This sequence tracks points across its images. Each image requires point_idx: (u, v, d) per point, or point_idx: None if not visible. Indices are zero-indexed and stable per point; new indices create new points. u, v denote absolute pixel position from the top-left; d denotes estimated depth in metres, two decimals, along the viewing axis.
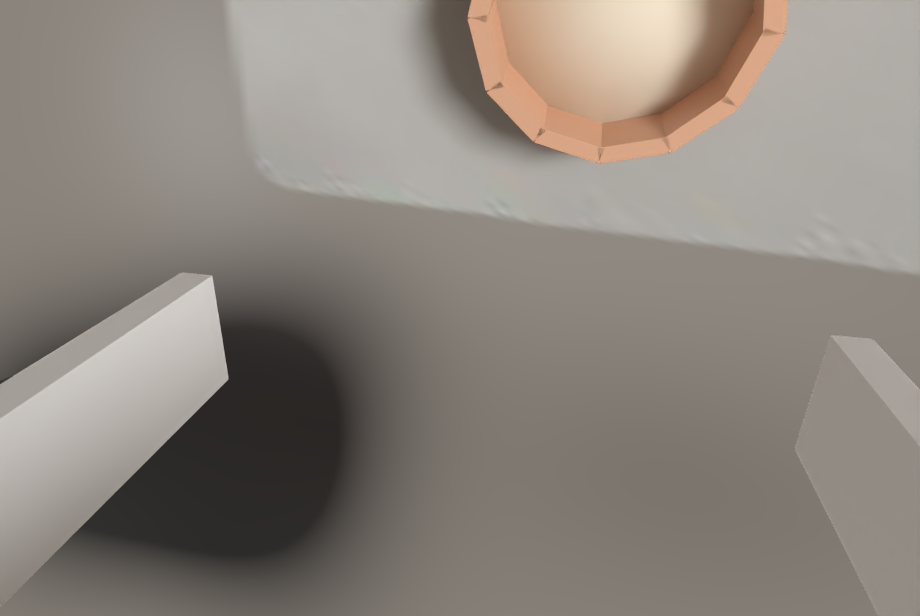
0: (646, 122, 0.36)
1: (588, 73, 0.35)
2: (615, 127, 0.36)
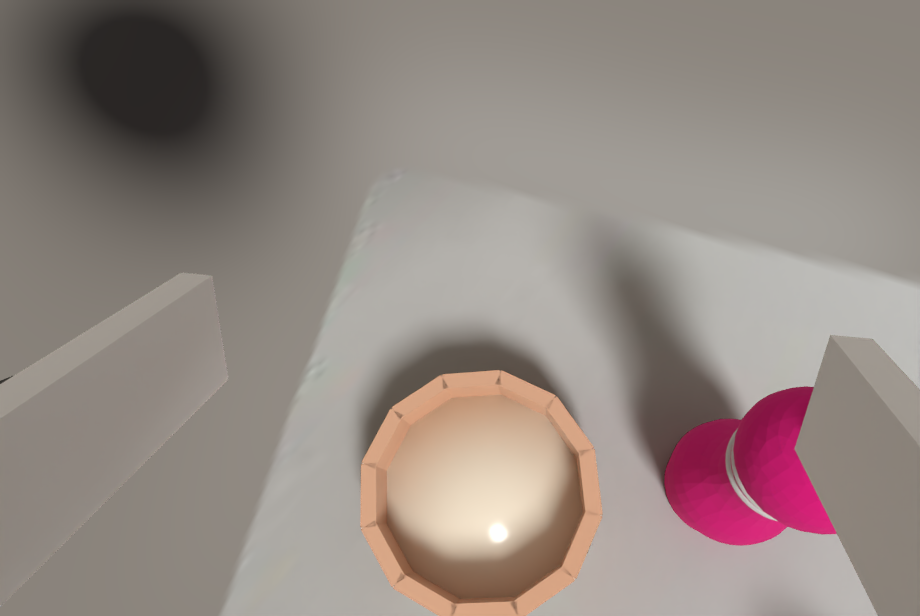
0: (384, 509, 0.41)
1: (432, 462, 0.42)
2: (384, 481, 0.41)
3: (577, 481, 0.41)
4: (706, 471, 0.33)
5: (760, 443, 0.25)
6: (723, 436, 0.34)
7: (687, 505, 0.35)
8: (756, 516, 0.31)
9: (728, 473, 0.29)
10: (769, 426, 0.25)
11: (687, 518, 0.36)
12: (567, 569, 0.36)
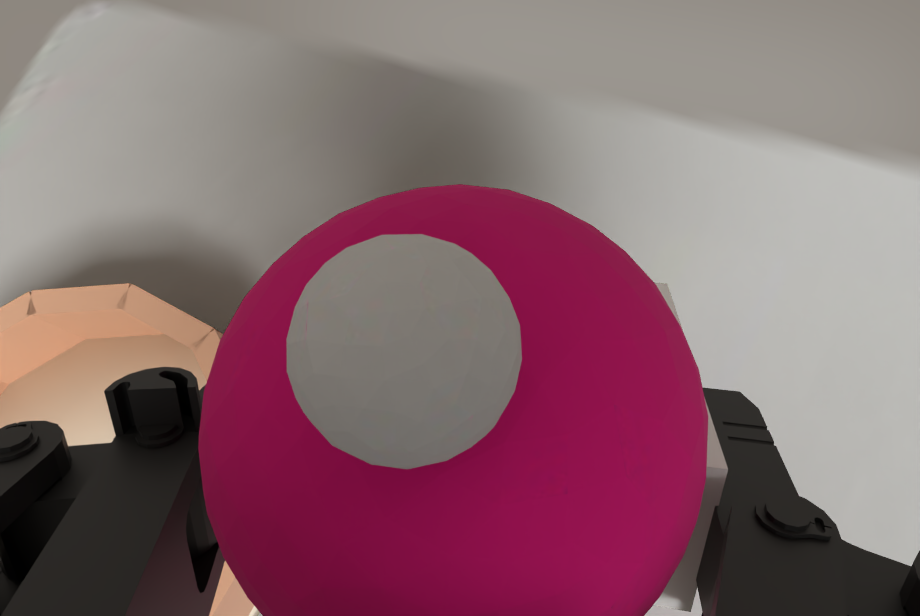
0: None
1: None
2: None
3: None
4: None
5: (215, 358, 0.07)
6: None
7: None
8: None
9: None
10: (249, 296, 0.07)
11: None
12: None
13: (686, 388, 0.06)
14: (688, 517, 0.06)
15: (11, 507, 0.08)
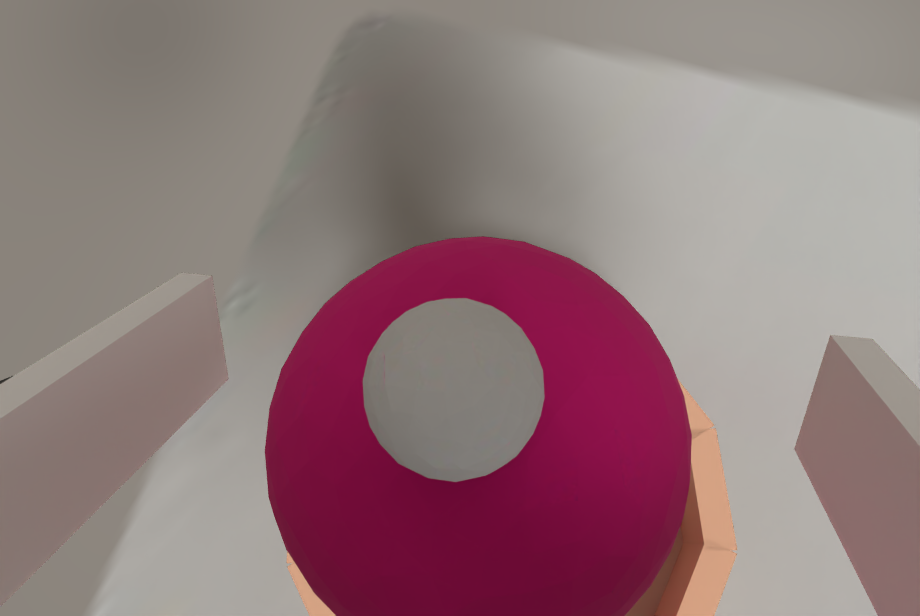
0: None
1: None
2: None
3: None
4: None
5: (280, 386, 0.08)
6: None
7: None
8: None
9: None
10: (309, 334, 0.08)
11: None
12: None
13: (673, 414, 0.07)
14: (674, 519, 0.07)
15: None
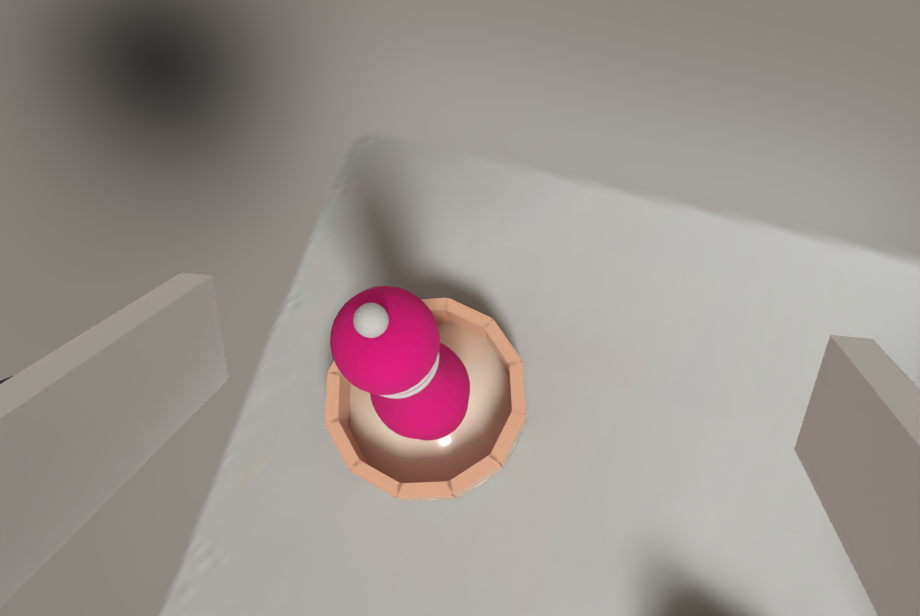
0: (346, 413, 0.48)
1: None
2: (347, 391, 0.49)
3: (510, 392, 0.48)
4: None
5: (334, 323, 0.33)
6: None
7: (373, 404, 0.43)
8: (398, 403, 0.39)
9: None
10: (341, 311, 0.33)
11: (379, 417, 0.44)
12: (494, 456, 0.44)
13: (425, 329, 0.32)
14: (425, 353, 0.32)
15: None
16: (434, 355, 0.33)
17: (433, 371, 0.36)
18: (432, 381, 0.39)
